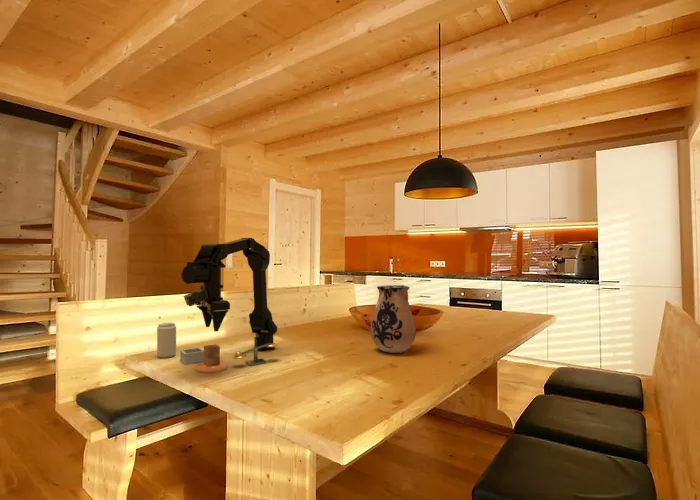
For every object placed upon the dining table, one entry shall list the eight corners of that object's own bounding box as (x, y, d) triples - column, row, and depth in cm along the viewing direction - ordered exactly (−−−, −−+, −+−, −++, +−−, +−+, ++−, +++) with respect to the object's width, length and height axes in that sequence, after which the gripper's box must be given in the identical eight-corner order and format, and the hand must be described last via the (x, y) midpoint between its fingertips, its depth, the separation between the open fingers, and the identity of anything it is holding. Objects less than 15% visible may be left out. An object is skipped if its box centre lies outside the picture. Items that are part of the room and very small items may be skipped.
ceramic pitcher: (364, 353, 152) (364, 287, 152) (381, 342, 172) (381, 283, 172) (410, 358, 145) (410, 288, 145) (422, 345, 165) (422, 284, 165)
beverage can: (168, 358, 145) (169, 325, 145) (153, 358, 146) (153, 324, 146) (179, 354, 151) (179, 322, 151) (164, 353, 152) (164, 321, 152)
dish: (222, 362, 140) (222, 358, 140) (232, 369, 132) (232, 365, 132) (192, 367, 134) (192, 363, 134) (200, 374, 126) (200, 370, 126)
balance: (274, 358, 145) (274, 340, 145) (279, 361, 142) (279, 342, 142) (230, 365, 136) (230, 346, 136) (235, 368, 132) (235, 349, 132)
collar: (199, 357, 147) (199, 347, 147) (204, 361, 141) (204, 351, 141) (180, 360, 143) (180, 350, 143) (185, 364, 137) (185, 354, 137)
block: (216, 362, 136) (216, 344, 136) (219, 364, 133) (219, 346, 133) (203, 364, 134) (203, 345, 134) (207, 366, 130) (207, 348, 131)
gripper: (179, 281, 136) (179, 327, 136) (194, 284, 121) (193, 336, 121) (212, 279, 143) (212, 324, 143) (230, 283, 127) (230, 332, 127)
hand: (211, 329), depth 133 cm, fingers open, 9 cm apart
